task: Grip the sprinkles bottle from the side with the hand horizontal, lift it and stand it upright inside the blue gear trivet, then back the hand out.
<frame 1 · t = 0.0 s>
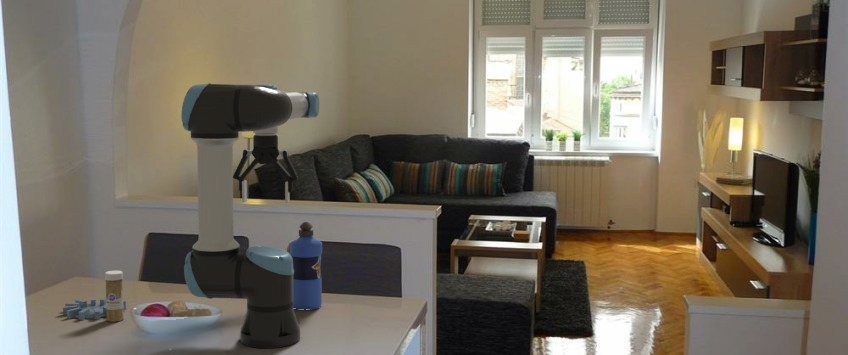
hand: (266, 202, 252), 28 cm above the table, tool pointing down, fingers open, 13 cm apart
blue gear trivet: (94, 311, 227), on the table
sprinkles bottle: (115, 320, 220), on the table
water bottle: (306, 307, 236), on the table
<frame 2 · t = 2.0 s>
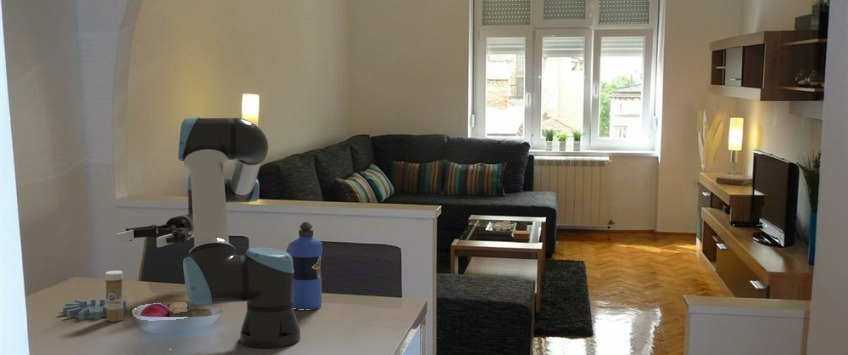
hand: (137, 240, 227), 20 cm above the table, tool horizontal, fingers open, 13 cm apart
nothing on the table moved.
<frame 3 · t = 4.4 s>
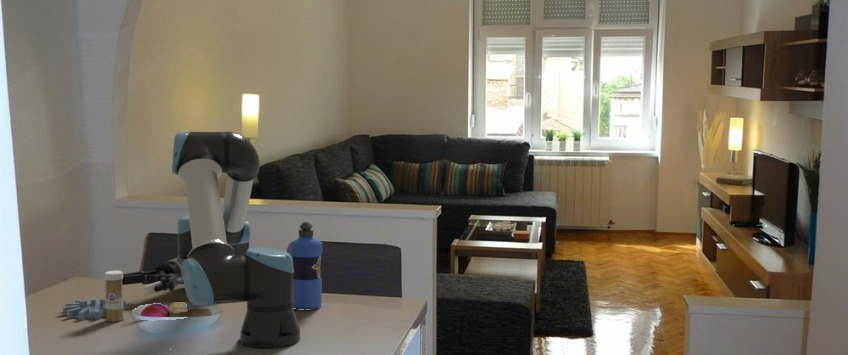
hand: (125, 289, 224), 7 cm above the table, tool horizontal, fingers open, 13 cm apart
nothing on the table moved.
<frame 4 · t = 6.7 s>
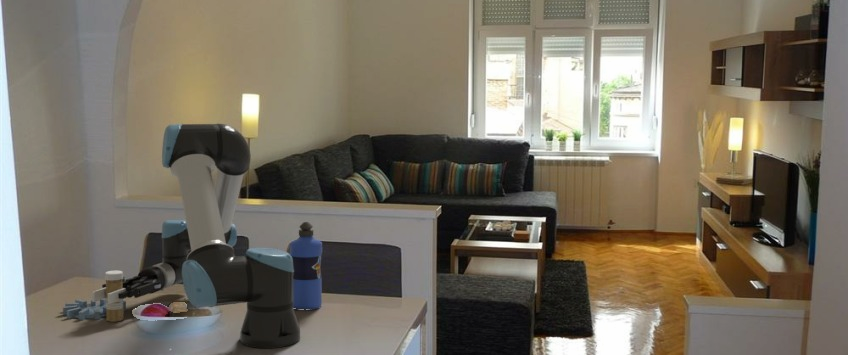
hand: (101, 297, 214), 8 cm above the table, tool horizontal, fingers closed on sprinkles bottle, 4 cm apart
sprinkles bottle: (115, 320, 220), on the table, touching gripper
everything else where it was.
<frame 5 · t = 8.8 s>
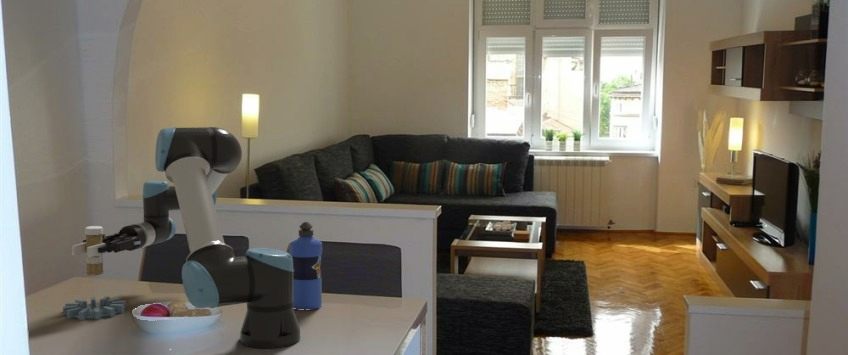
hand: (80, 251, 220), 18 cm above the table, tool horizontal, fingers closed on sprinkles bottle, 4 cm apart
sprinkles bottle: (95, 274, 226), point 11 cm above the table, touching gripper
everything else where it was.
when the fingers open (9 cm above the table, at t = 11.2 s): sprinkles bottle drops 1 cm, resting on blue gear trivet.
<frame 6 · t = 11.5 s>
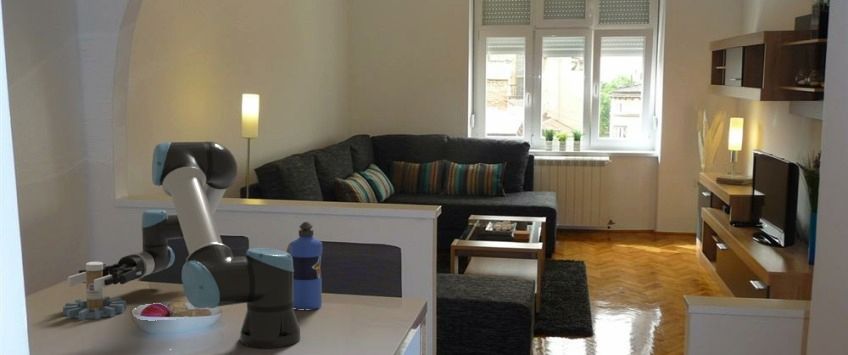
hand: (81, 283, 222), 9 cm above the table, tool horizontal, fingers open, 8 cm apart
sprinkles bottle: (95, 310, 227), resting on blue gear trivet
everything else where it was.
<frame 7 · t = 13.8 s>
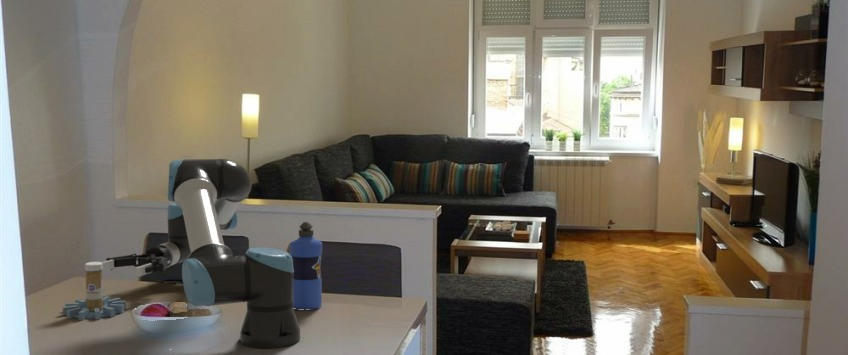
hand: (117, 270, 235), 10 cm above the table, tool horizontal, fingers open, 13 cm apart
nothing on the table moved.
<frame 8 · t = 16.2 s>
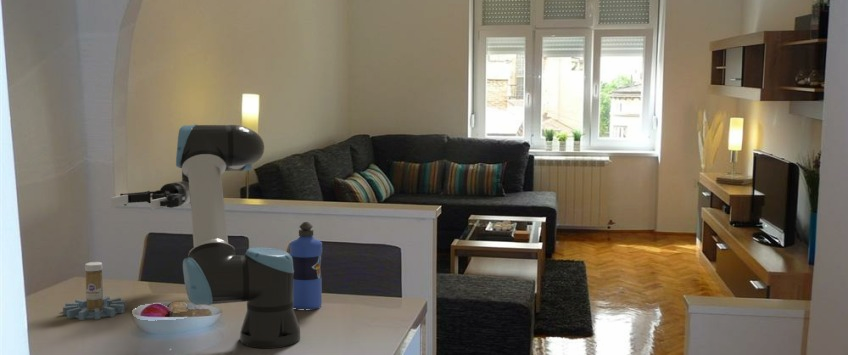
hand: (131, 203, 231), 30 cm above the table, tool horizontal, fingers open, 13 cm apart
nothing on the table moved.
at the end: sprinkles bottle 0.1 cm from the blue gear trivet (horizontally); sprinkles bottle tilted 0°; the gripper is holding nothing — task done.
